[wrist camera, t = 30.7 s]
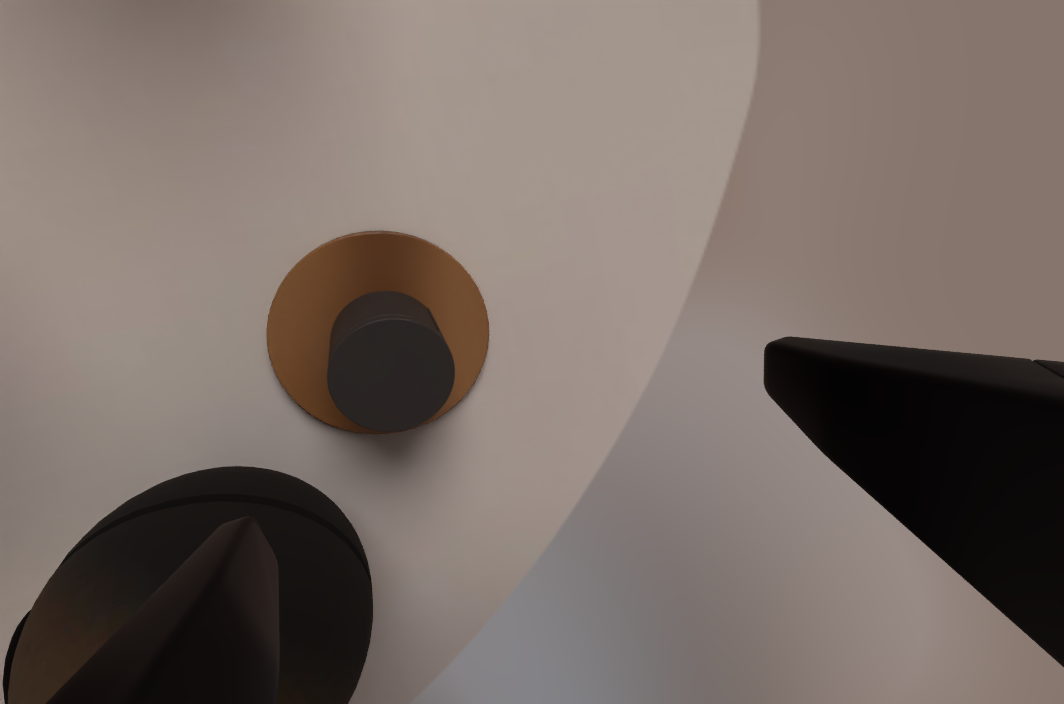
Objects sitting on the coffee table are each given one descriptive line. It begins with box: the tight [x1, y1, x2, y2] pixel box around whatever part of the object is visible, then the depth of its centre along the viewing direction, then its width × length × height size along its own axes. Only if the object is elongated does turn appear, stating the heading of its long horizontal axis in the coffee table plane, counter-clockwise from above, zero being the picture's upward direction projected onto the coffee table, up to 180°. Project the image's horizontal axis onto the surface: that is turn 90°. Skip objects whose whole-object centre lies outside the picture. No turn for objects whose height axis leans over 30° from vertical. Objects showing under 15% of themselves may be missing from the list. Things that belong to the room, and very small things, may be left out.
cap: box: [327, 291, 455, 432], centre depth 18 cm, size 4×4×3 cm
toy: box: [3, 466, 373, 704], centre depth 16 cm, size 9×10×10 cm
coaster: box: [267, 231, 489, 434], centre depth 20 cm, size 8×8×1 cm
